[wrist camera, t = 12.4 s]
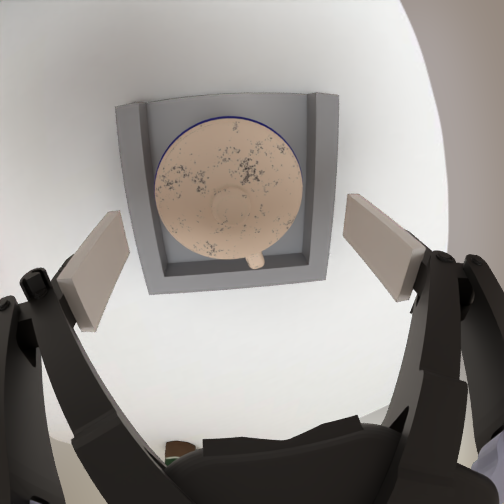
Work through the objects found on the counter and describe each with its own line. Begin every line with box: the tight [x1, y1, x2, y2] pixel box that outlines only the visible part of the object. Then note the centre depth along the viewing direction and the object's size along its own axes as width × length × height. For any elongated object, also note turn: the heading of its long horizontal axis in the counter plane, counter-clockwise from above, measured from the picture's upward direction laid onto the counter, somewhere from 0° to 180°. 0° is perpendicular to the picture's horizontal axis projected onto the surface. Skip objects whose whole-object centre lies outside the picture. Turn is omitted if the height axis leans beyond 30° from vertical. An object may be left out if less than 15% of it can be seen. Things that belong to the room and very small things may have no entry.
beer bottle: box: [165, 441, 195, 466], centre depth 43 cm, size 8×8×24 cm
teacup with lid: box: [154, 116, 303, 269], centre depth 19 cm, size 12×9×12 cm
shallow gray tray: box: [115, 93, 339, 295], centre depth 24 cm, size 18×18×4 cm
